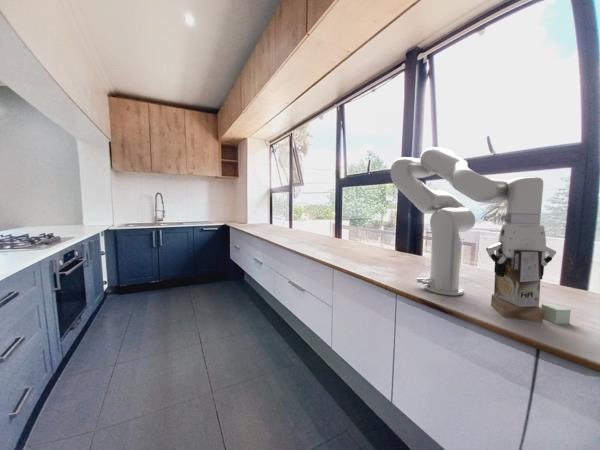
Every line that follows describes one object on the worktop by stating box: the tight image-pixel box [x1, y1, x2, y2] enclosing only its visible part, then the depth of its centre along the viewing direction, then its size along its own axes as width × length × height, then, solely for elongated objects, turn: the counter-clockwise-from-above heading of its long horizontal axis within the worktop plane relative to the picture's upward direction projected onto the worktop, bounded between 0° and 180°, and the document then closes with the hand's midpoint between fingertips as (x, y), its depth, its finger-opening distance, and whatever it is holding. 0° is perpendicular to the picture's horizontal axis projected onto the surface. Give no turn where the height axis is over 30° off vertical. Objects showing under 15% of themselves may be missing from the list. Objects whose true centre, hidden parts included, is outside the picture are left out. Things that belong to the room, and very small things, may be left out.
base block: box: [490, 293, 544, 323], centre depth 73 cm, size 9×9×4 cm
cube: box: [540, 303, 572, 325], centre depth 69 cm, size 4×4×4 cm
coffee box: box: [493, 249, 542, 307], centre depth 73 cm, size 9×6×16 cm
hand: (517, 276), depth 72 cm, fingers open, 9 cm apart
